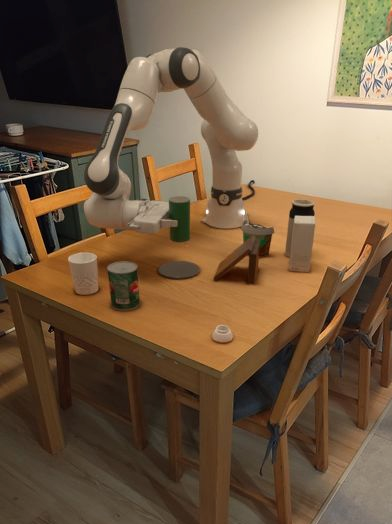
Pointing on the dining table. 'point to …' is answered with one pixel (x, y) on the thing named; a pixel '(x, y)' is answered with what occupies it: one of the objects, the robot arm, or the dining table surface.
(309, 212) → the travel mug
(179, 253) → the dining table surface
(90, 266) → the white cup
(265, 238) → the food container
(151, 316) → the dining table surface
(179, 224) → the can
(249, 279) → the stand
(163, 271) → the disc
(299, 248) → the cosmetic box
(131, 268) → the canned tomato
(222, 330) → the white jar
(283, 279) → the dining table surface
